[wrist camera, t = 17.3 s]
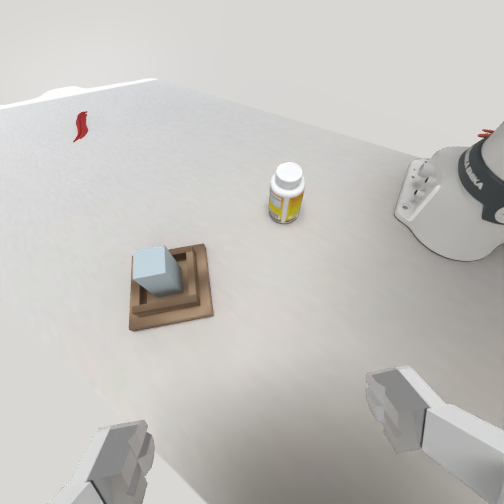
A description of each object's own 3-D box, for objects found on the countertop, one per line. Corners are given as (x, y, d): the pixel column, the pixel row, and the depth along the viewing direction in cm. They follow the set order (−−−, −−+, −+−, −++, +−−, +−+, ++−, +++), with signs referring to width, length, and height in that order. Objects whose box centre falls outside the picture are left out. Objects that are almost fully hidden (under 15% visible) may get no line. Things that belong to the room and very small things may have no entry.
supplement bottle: (300, 203, 46) (310, 160, 37) (296, 227, 44) (306, 188, 34) (271, 198, 47) (274, 155, 38) (266, 222, 44) (267, 182, 35)
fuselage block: (156, 273, 39) (133, 250, 31) (181, 268, 39) (164, 245, 32) (157, 297, 37) (132, 279, 30) (183, 292, 37) (165, 272, 30)
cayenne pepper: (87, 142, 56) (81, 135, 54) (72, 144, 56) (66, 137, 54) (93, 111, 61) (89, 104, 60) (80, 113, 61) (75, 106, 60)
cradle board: (136, 259, 41) (124, 249, 38) (205, 247, 42) (200, 235, 39) (133, 331, 36) (119, 326, 32) (213, 315, 37) (208, 309, 33)
